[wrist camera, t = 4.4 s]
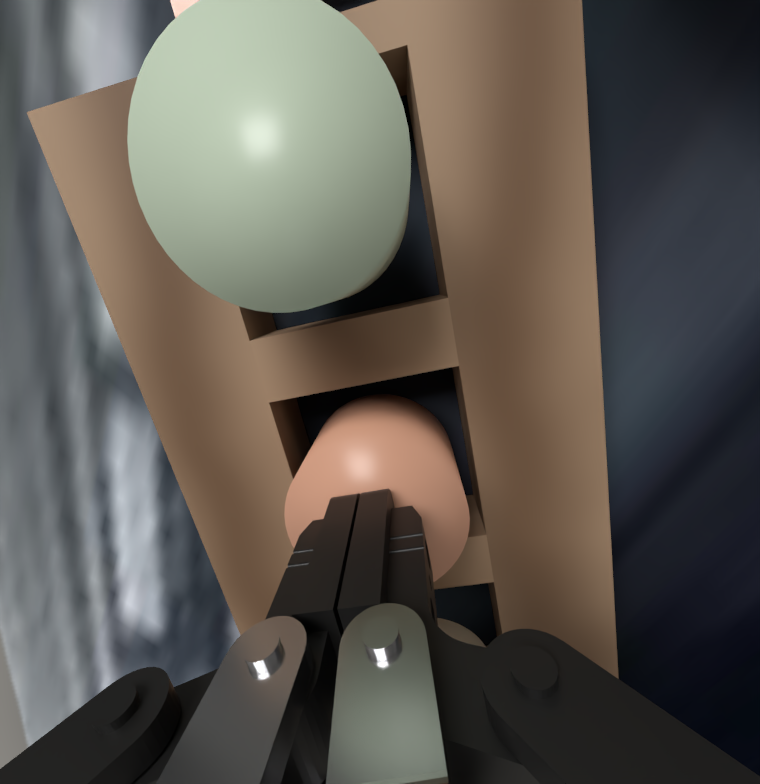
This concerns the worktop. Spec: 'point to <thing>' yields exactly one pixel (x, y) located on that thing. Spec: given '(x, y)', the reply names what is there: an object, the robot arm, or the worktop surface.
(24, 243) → the worktop surface
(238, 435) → the button board
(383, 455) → the peach rounded piece
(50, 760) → the robot arm
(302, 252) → the button sage
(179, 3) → the tile
